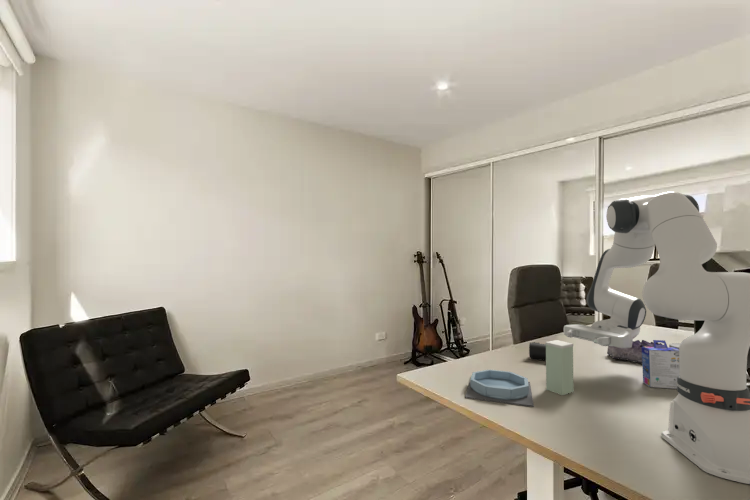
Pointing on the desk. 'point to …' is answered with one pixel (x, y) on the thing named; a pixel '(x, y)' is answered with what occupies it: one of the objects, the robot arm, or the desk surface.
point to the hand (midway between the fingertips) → (581, 337)
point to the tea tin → (559, 367)
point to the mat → (523, 401)
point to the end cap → (537, 351)
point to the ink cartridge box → (660, 365)
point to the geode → (630, 351)
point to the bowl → (500, 384)
